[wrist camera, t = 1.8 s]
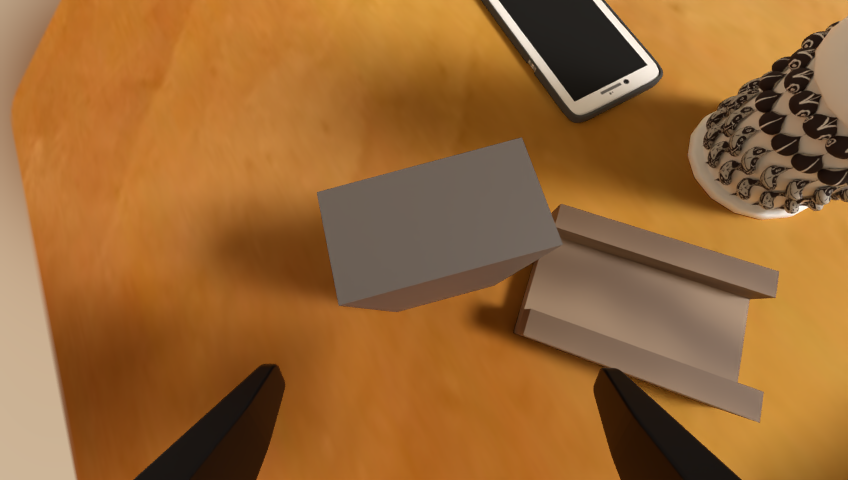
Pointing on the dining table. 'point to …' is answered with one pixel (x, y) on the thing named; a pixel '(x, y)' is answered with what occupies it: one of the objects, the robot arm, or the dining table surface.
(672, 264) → the tray
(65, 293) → the dining table surface
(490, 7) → the cell phone
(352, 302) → the grey rectangular box
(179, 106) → the dining table surface
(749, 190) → the decorative candle
